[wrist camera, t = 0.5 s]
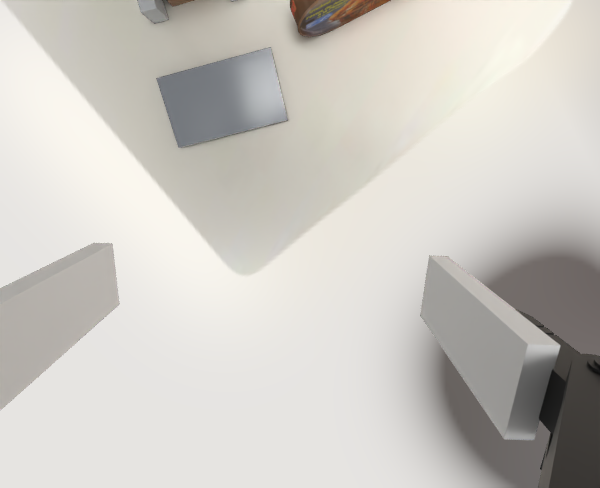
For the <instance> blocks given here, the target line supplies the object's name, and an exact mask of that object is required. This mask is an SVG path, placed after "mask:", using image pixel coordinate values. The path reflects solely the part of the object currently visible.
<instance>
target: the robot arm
mask: <svg viewBox="0 0 600 488" xmlns="http://www.w3.org/2000/svg"><path fill="white" fill-rule="evenodd" d="M118 305H119V296H118V288H117V279H116V271H115V263H114V254H113V245H112V244H109V243H93V244H91V245H88V246H87V247H84V248H82V249H80V250H78V251H76V252H74V253H72V254H70V255H68V256H66V257H64V258H62V259H60V260H58V261H56V262H53V263H51V264H49V265H47V266H45V267H43V268H41V269H39V270H37V271H35V272H33V273H31V274H29V275H27V276H25V277H23V278H21V279H19V280H17V281H15V282H12V283H10V284H9V285H6V286H4V287H2V288H0V410H1V409H3V408H4V407H5V406H6V405H7V404H8V403H9V402H10V401H12V399H14V398H15V397H16V396H17V395H18V394H19V393H21V392H22V391H23V390H24V389H25V388H26V387H27V386H28V385H29V384H30V383H32V382H33V381H34V380H35V379H36V378H37V377H38V376H40V375H41V374H42V373H43V372H44V371H45V370H46V369H47V368H49V367H50V366H51V365H52V364H53V363H54V362H55V361H56V360H58V359H59V358H60V357H61V356H62V355H63V354H64V353H65V352H67V351H68V350H69V349H70V348H71V347H72V346H73V345H74V344H76V343H77V342H78V341H79V340H80V339H81V338H82V337H83V336H84V335H86V334H87V333H88V332H89V331H90V330H91V329H92V328H93V327H95V326H96V325H97V324H98V323H99V322H100V321H101V320H102V319H104V317H106V316H107V315H108V314H109V313H110V312H111V311H113V310H114V309H115V308H116V307H117V306H118ZM420 316H421V317H422V319H423V320H424V322H425V323H426V325H427V326H428V328H429V329H430V330H431V332H432V334H433V335H434V336H435V338H436V339H437V341H438V342H439V344H440V345H441V347H442V348H443V350H444V351H445V353H446V354H447V356H448V357H449V359H450V360H451V361H452V363H453V364H454V366H455V367H456V369H457V370H458V372H459V373H460V375H461V376H462V378H463V379H464V381H465V382H466V384H467V385H468V386H469V388H470V390H471V391H472V392H473V394H474V395H475V397H476V398H477V400H478V401H479V403H480V404H481V406H482V407H483V409H484V410H485V411H486V413H487V414H488V416H489V417H490V419H491V420H492V422H493V423H494V425H495V426H496V428H497V429H498V431H499V432H500V434H501V435H502V436H503V438H504V439H513V440H534V439H535V435H536V432H537V428H538V424H539V421H541V422H542V423H543V424H544V425H545V426H546V428H547V429H548V430H549V431H550V432H551V433H550V437H549V441H548V444H547V447H546V451H545V454H544V458H543V461H542V464H541V468H540V469H541V470H542V471H541V475H540V480H539V485H538V488H600V356H597V355H591V354H580V353H579V352H578V351H576V350H575V349H574V348H572V347H571V346H570V345H568V344H567V343H566V342H564V341H563V340H562V339H560V338H559V337H558V336H557V335H554V333H553V332H551V331H550V330H549V329H548V328H545V327H544V325H542V324H541V323H540V322H538V321H537V320H536V319H534V318H533V317H531V316H529V315H527V314H525V313H523V312H521V311H519V310H517V309H514V308H512V307H511V306H510V305H509V304H507V303H506V302H505V301H503V300H502V299H501V298H499V297H498V296H497V295H496V294H495V293H493V292H492V291H491V290H490V289H488V288H487V287H486V286H485V285H483V284H482V283H481V282H479V281H478V280H477V279H476V278H474V277H473V276H472V275H471V274H469V273H468V272H467V271H465V270H464V269H463V268H462V267H460V266H459V265H458V264H457V263H455V262H454V261H453V260H452V259H450V258H449V257H447V256H429V261H428V268H427V274H426V280H425V287H424V294H423V300H422V308H421V314H420Z"/></svg>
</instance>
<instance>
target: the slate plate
mask: <svg viewBox="0 0 600 488" xmlns="http://www.w3.org/2000/svg"><path fill="white" fill-rule="evenodd" d="M156 79H157V82H158V85H159V88H160V91H161V94H162V97H163V100H164V104H165V107H166V110H167V113H168V116H169V119H170V122H171V125H172V129H173V132H174V135H175V138H176V141H177V144H178V147H179V148H182V147H186V146H190V145H194V144H198V143H202V142H205V141H209V140H213V139H217V138H221V137H225V136H229V135H233V134H237V133H241V132H244V131H248V130H252V129H256V128H260V127H264V126H268V125H272V124H276V123H280V122H283V121H287V120H288V118H287V114H286V110H285V105H284V101H283V97H282V93H281V88H280V84H279V80H278V76H277V72H276V67H275V63H274V59H273V55H272V50H271V47H269V48H266V49H262V50H258V51H255V52H251V53H247V54H244V55H240V56H236V57H233V58H229V59H225V60H222V61H218V62H214V63H211V64H207V65H203V66H200V67H196V68H192V69H189V70H185V71H181V72H178V73H174V74H170V75H167V76H163V77H159V78H156Z"/></svg>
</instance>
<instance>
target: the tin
mask: <svg viewBox="0 0 600 488" xmlns="http://www.w3.org/2000/svg"><path fill="white" fill-rule="evenodd" d="M388 1H390V0H290V8H291V12H292V14H293V16H294V19H295V21H296V23H297V26H298V32H299V33H300V34H301V35H302V36H307V37H311V36H318V35H322V34H325V33H327V32H330V31H332V30H334V29H336V28H338V27H340V26H342V25H344V24H346V23H348V22H350V21H352V20H353V19H355V18H357V17H359V16H361V15H363V14H365V13H367V12H369V11H371V10H373V9H375V8H377V7H379V6H381V5H383V4H384V3H386V2H388Z"/></svg>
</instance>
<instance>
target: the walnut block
mask: <svg viewBox="0 0 600 488" xmlns="http://www.w3.org/2000/svg"><path fill="white" fill-rule="evenodd" d="M167 1H168V2H169V3H170V4H171V5H172V6H176V5H180V4H183V3H187V2H190V1H194V0H167Z"/></svg>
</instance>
